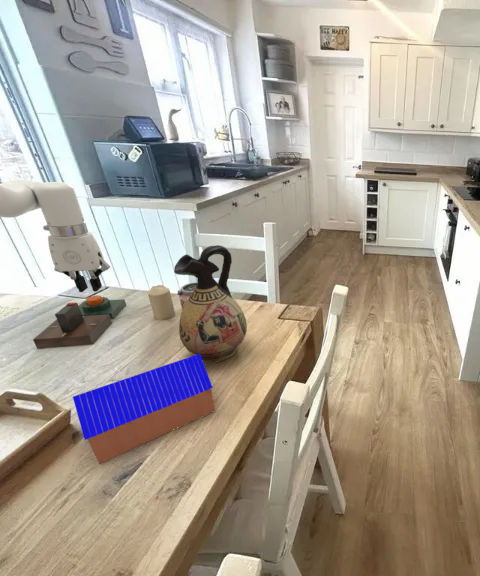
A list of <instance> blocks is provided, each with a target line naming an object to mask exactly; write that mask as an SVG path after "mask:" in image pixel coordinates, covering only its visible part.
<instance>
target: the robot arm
mask: <svg viewBox="0 0 480 576" xmlns="http://www.w3.org/2000/svg"><path fill="white" fill-rule="evenodd" d="M38 209H40V210H41V212H42V215H43V218H44V219H45V222H46V225H43V227H42V228H43V230H44V231H46V232H47V231H48V232H49V235H48V236H47V242H48V249H49V253H50V257H51V260H52V263H53V266H54V271H55V272H57V273H60V274H64V275H65V276H67V277H69V278H70V280H72V281H73V282H74V284H75V287H76V288H77V290H78V292H79V293H83V292H85V291H86V290H87V289H88V288H89V286H88V284H87V281H86V278H85V276H84V275H82V273H81V272H87V273H88V274H89V276H90V279H89V283H90V286H91V288H92V289H91V290H92V291H93V292H98V291H99V290H101V288H102V287H103V285H102V280H101V278H100V276H101V275H102V274H103V272H106V271H108V270H109V269H111V265H110V264H109V263H108V262H107V261H105V258H104V255H103V252H102V250H101V247H100V245H99V243H98V242H97V240H96V238H95V237H94V234H93V233H92V232H89V230H88V226H87V224H86V221H85V218H84V214H83V212H82V208H81V206H80V203H79V200H78V197H77V195H76V191H75V188H74V187H73V185H72V184H70V183H68V182H64V181H47V182H41V181H32V180H25V179H15V180H14V179H13V180H9V181H5V182H1V183H0V218H9V219H10V218H17V217H20V216H23V215H24V214H26V213H29V212H32V211H36V210H38Z"/></svg>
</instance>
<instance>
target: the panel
mask: <svg viewBox="0 0 480 576" xmlns="http://www.w3.org/2000/svg"><path fill="white" fill-rule="evenodd" d="M83 319H84V320H83V321H82V322H81V323H80V324H79V325H78V326H77V327H76V328H75V329H74V330H73V331H71V332H62V330H61V328H60V325H59V323H58V321H57V319H56V320H54V321H52V323H50V325H48V326H47V327H46V328H44V330H42V331H41V332H40V333H39V334H38V335H36V336H35V337H34V338H33V339H32V341H33V343H34V345H35V347H36V349H37V350H43V349H56V348H65V347H78V346H92V345H94V344H95V343H96V342H97V341H98V339H100V337H101V336H102V335H103V334H104V333H105V332H106V331H107V329H108V328H109V327H110V326H111V325H112V324H113V321H112V320H111V318H110V315H109V314H107V315H90V316H83Z"/></svg>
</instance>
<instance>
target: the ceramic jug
mask: <svg viewBox="0 0 480 576" xmlns="http://www.w3.org/2000/svg"><path fill="white" fill-rule="evenodd" d="M214 255H220V256H222V257H223V262H222V266H221V272H220V275H219V278H218V280H217V281H218V282H217V281H216V280H215V278H214V276H213V274H215V273H218V272H219V271H220V267H218V266H217V265H216V263H214V262H212V261H210V260H209V258H210V257H212V256H214ZM232 260H233V259H232V253H231V252H230V251H229V249H228V248H226V247H225V246H224V245H219V244H218V245H217V244H216V245H209V246H208V247H206V248H204V249H203V250H202V251H201V252H200V256H199V258H198V259H196V258H194V257H193V256H191V255H190V254H184V255H183V256H181V257H180V258H179V259H178V261H177V262H176V264H175V265H174V269H173V270H174V271H173V273H174V274H175V275H181V276H192V277H195V278H196V279H197V282H198V284H197V286H196V288H195V289H194V291H193V292H192V294H191V295H190V297H189V299H188V301H187V303H186V304H185V306H184V308H183V311H182V310H181V313H180V318H179V328H178V329H179V330H178V332H179V333H178V334H179V339H180V341H181V343H182V345H183V346H184V347H185V349H186V350H187V351H188V352H190V353H191V354H193V355H197V354H200V356H201V358H202V361H203V362H205V363H218V362H217V361H219V362H222V361H224V360H223V359H225V360H227V359H229V358H231V357H232V356H234V355H235V353H236V352H237V349H238V347H239V346H240V345H241V343H242V342H243V341H244V339H245V337H246V334H247V331H248V326H247V318H246V315H245V313H244V311H243V309H242V307H241V306H240V305H239V303H238V302H237V301H236V300H235V298H234V297H233V296H232V294H231V291H230V288H229V287H228V280H229V278H230V271H231V267H232V263H233V261H232ZM236 348H237V349H236ZM235 351H236V352H235ZM230 356H231V357H230ZM228 357H229V358H228ZM226 358H227V359H226ZM221 360H222V361H221Z"/></svg>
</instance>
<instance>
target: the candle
mask: <svg viewBox="0 0 480 576" xmlns="http://www.w3.org/2000/svg"><path fill="white" fill-rule="evenodd" d="M147 296H148V300H149V303H150V306H151V311H152V314H153V318H154V319H156V320H158V321H162V320H168V319H171V318H173V317H174V316H176V310H175V307H174V303H173V302H174V301H173V298H172V295H171V289H170V288H169V287H167V286H165V285H164V284H157V285H153V286H151V288H150V289H149V290H148V291H147Z"/></svg>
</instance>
